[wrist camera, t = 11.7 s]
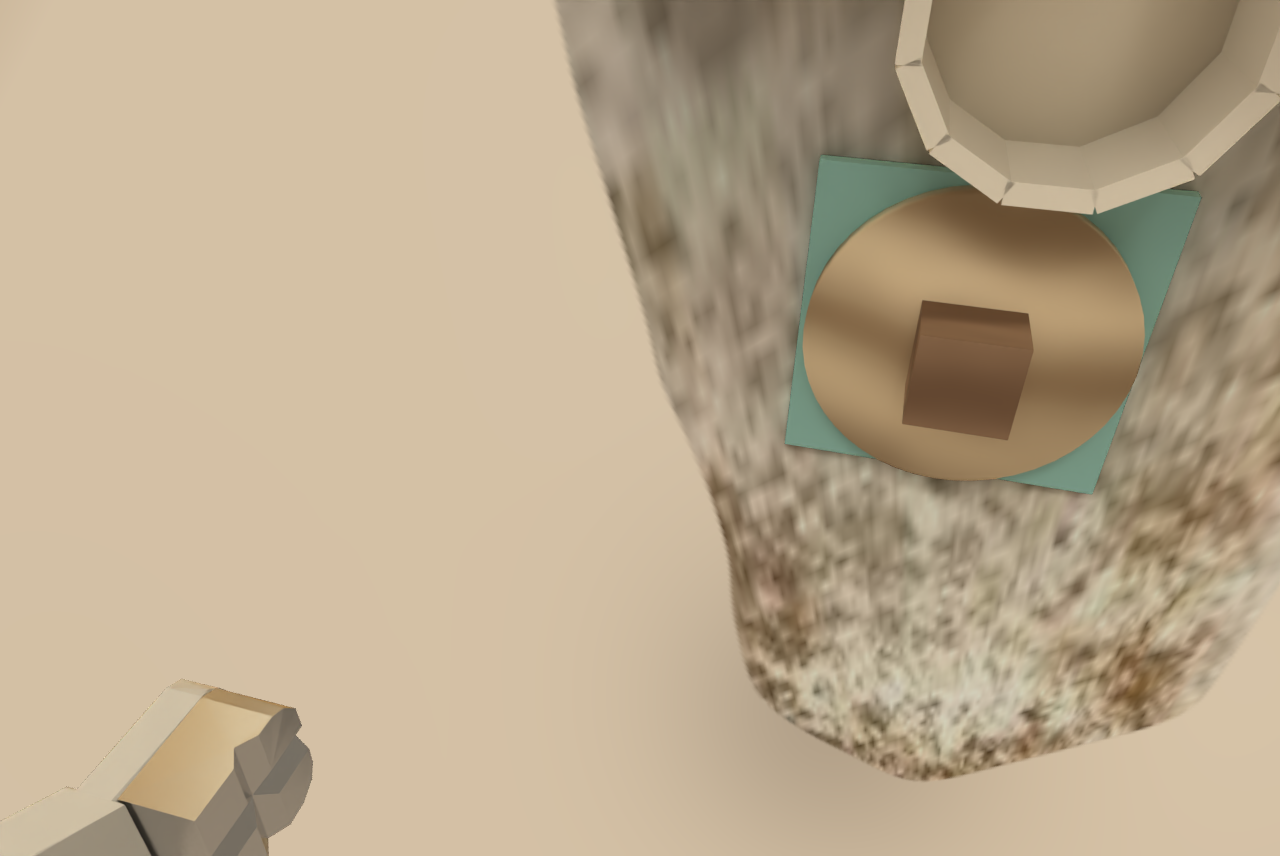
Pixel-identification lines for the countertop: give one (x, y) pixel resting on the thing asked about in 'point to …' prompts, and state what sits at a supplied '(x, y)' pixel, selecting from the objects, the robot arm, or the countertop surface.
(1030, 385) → the oak lid
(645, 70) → the countertop surface
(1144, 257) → the rubber mat
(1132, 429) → the countertop surface
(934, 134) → the ceramic bowl
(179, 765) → the robot arm
